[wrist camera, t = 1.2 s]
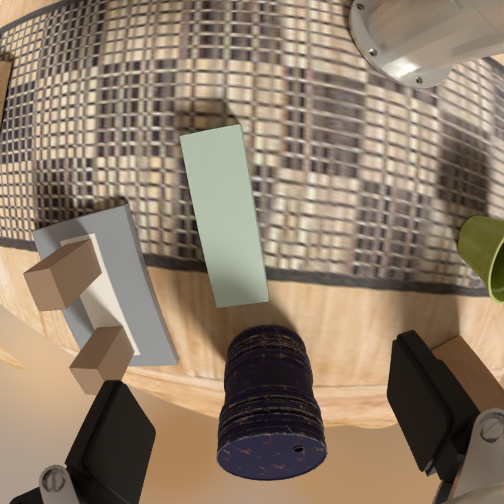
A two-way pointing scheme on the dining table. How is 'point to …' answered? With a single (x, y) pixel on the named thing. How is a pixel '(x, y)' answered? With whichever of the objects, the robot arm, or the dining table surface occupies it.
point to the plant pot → (485, 252)
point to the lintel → (226, 214)
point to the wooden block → (471, 374)
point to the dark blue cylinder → (269, 408)
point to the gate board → (101, 295)
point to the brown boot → (4, 83)
